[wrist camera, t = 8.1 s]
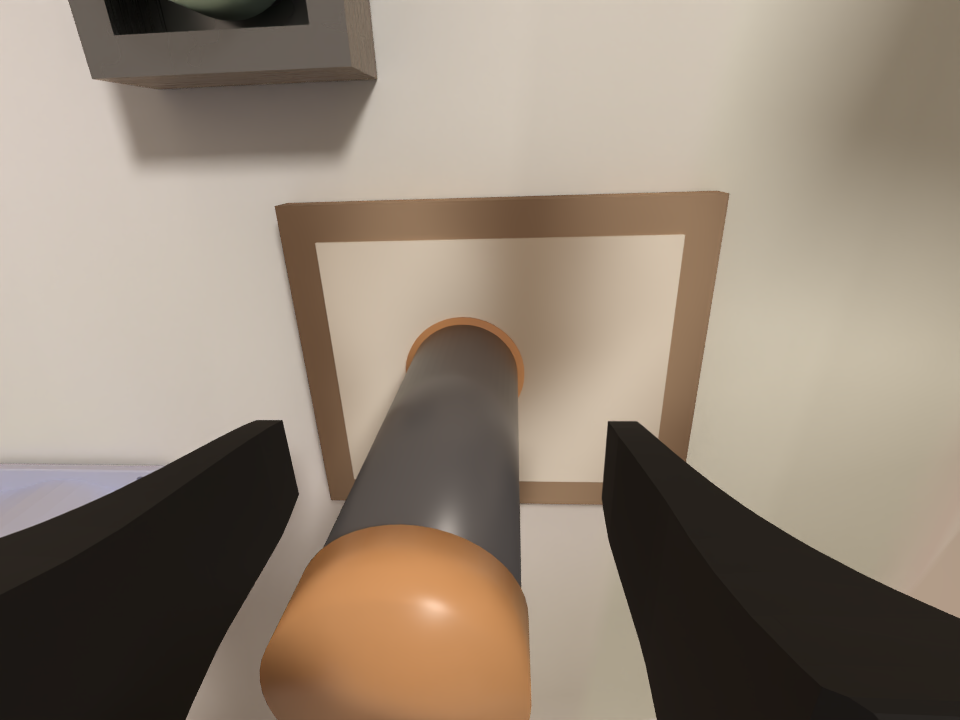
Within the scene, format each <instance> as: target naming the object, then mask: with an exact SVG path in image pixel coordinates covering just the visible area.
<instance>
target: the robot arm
mask: <svg viewBox="0 0 960 720" xmlns="http://www.w3.org/2000/svg"><path fill="white" fill-rule="evenodd" d="M298 495H299V493H298V488H297V484H296V479H295V475H294V470H293V466H292V461H291V457H290V452H289V448H288V443H287V439H286V434H285V430H284V425H283V421H282V420H256V421H253V422H251V423H248V424H246V425H244V426H241V427H239V428H237V429H235V430H233V431H231V432H229V433H227V434H225V435H223V436H221V437H219V438H217V439H215V440H214V441H212V442H210V443H208V444H206V445H204V446H202V447H200V448H198V449H196V450H195V451H193V452H191V453H189V454H187V455H185V456H183V457H181V458H179V459H178V460H176V461H174V462H172V463H170V464H168V465H166V466H159V465H71V464H0V720H186V717H187V715H188V713H189V710H190V708H191V706H192V703H193V701H194V699H195V697H196V694H197V692H198V690H199V688H200V686H201V684H202V681H203V679H204V677H205V675H206V673H207V671H208V668H209V666H210V664H211V662H212V660H213V658H214V655H215V653H216V651H217V649H218V647H219V645H220V643H221V642H222V640H223V638H224V636H225V634H226V632H227V630H228V628H229V627H230V625H231V623H232V622H233V620H234V618H235V616H236V615H237V613H238V611H239V610H240V608H241V606H242V604H243V603H244V601H245V599H246V598H247V596H248V594H249V592H250V591H251V589H252V587H253V586H254V584H255V582H256V580H257V579H258V577H259V575H260V574H261V572H262V570H263V568H264V567H265V565H266V563H267V561H268V560H269V558H270V556H271V554H272V553H273V551H274V549H275V547H276V546H277V544H278V542H279V540H280V538H281V537H282V535H283V533H284V530H285V528H286V526H287V523H288V521H289V519H290V516H291V514H292V511H293V508H294V506H295V503H296V501H297V498H298ZM602 504H603V510H604V516H605V522H606V528H607V533H608V539H609V543H610V546H611V550H612V553H613V556H614V560H615V563H616V566H617V570H618V573H619V576H620V580H621V583H622V586H623V589H624V593H625V596H626V599H627V602H628V606H629V609H630V612H631V615H632V619H633V622H634V625H635V628H636V632H637V635H638V638H639V642H640V645H641V649H642V653H643V657H644V661H645V664H646V669H647V674H648V679H649V683H650V688H651V693H652V698H653V703H654V708H655V713H656V717H657V720H960V618H957V617H955V616H953V615H950V614H948V613H946V612H944V611H941V610H939V609H937V608H935V607H932V606H930V605H928V604H926V603H923V602H921V601H919V600H917V599H914V598H912V597H910V596H908V595H906V594H903V593H901V592H899V591H897V590H894V589H892V588H890V587H888V586H886V585H884V584H882V583H880V582H878V581H876V580H874V579H871V578H869V577H867V576H865V575H863V574H861V573H859V572H857V571H855V570H853V569H852V568H850V567H848V566H846V565H844V564H842V563H840V562H838V561H836V560H834V559H832V558H831V557H829V556H827V555H825V554H823V553H821V552H819V551H817V550H815V549H814V548H812V547H810V546H808V545H806V544H805V543H803V542H801V541H799V540H798V539H796V538H794V537H792V536H791V535H789V534H788V533H786V532H784V531H783V530H781V529H779V528H778V527H776V526H775V525H773V524H771V523H770V522H768V521H766V520H765V519H763V518H762V517H760V516H758V515H757V514H755V513H754V512H752V511H751V510H749V509H748V508H746V507H745V506H743V505H742V504H740V503H739V502H738V501H736V500H735V499H733V498H732V497H731V496H729V495H728V494H727V493H725V492H724V491H722V490H721V489H720V488H718V487H717V486H715V485H714V484H713V483H711V482H710V481H709V480H708V479H706V478H705V477H704V476H702V475H701V474H700V473H699V472H697V471H696V470H695V469H693V468H692V467H691V466H690V465H689V464H687V463H686V462H685V461H684V460H682V459H681V458H680V457H679V456H678V455H676V454H675V453H674V452H673V451H672V450H671V449H669V448H668V447H667V446H666V445H665V444H664V443H662V442H661V441H660V440H659V439H658V438H657V437H655V436H654V435H653V434H652V433H651V432H650V431H648V430H647V429H646V428H645V427H644V426H642V425H641V424H640V423H639V422H637V421H608V426H607V438H606V450H605V462H604V474H603V486H602Z"/></svg>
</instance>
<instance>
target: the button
mask: <svg viewBox="0 0 960 720" xmlns="http://www.w3.org/2000/svg"><path fill="white" fill-rule="evenodd" d="M170 1H172V2H174V3H177V4H179V5H182V6H184V7H186V8H189V9H191V10H193V11H196V12H198V13H200V14H203V15H205V16H208V17H211V18H214V19H219V20H224V21H238V20H245V19H248V18H251V17H254V16H256V15H258V14H260V13H262V12H263V11H264V10H266V9H267V8H268V7H270V6H271V5H272V4H273V3H274V2H275V1H276V0H170Z"/></svg>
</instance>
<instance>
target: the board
mask: <svg viewBox="0 0 960 720" xmlns="http://www.w3.org/2000/svg"><path fill="white" fill-rule="evenodd" d="M728 199H729V193H725V192H720V191H697V192H662V193H627V194H592V195H557V196H522V197H486V198H451V199H416V200H381V201H346V202H311V203H286V204H282V205H278V206H275V211H276V216H277V221H278V226H279V231H280V237H281V242H282V247H283V252H284V257H285V263H286V268H287V273H288V278H289V283H290V288H291V294H292V299H293V304H294V309H295V314H296V320H297V325H298V330H299V335H300V340H301V346H302V351H303V356H304V361H305V366H306V371H307V377H308V382H309V387H310V392H311V397H312V403H313V408H314V413H315V418H316V423H317V429H318V434H319V439H320V444H321V449H322V454H323V460H324V465H325V470H326V475H327V480H328V486H329V491H330V496H331V500H346V499H347V497H348V495H349V493H350V491H351V488H352V486H353V484H354V482H355V480H356V478H357V476H358V474H359V472H360V469H361V467H362V465H363V463H364V461H365V459H366V457H367V455H368V453H369V451H370V448H371V446H372V444H373V442H374V440H375V438H376V436H377V434H378V432H379V429H380V427H381V425H382V423H383V421H384V419H385V417H386V415H387V413H388V411H389V408H390V406H391V404H392V402H393V400H394V398H395V396H396V394H397V392H398V389H399V387H400V385H401V383H402V381H403V379H404V377H405V375H406V373H407V371H408V368H409V366H410V364H411V362H412V360H413V358H414V356H415V354H416V352H417V350H418V348H419V346H420V345H421V344H422V342H423V341H424V340H425V339H426V338H427V337H428V336H430V335H431V334H433V333H434V332H436V331H438V330H440V329H442V328H445V327H448V326H453V325H472V326H477V327H481V328H484V329H486V330H488V331H490V332H492V333H493V334H495V335H497V336H498V337H499V338H500V339H501V340H502V341H503V342H504V343H505V344H506V345H507V346H508V348H509V349H510V350H511V352H512V354H513V356H514V359H515V361H516V365H517V374H518V430H519V490H520V503H540V504H601V505H603V504H602V486H603V474H604V462H605V450H606V438H607V426H608V421H637V422H639V423H640V424H641V425H642V426H644V427H645V428H646V429H647V430H648V431H650V432H651V433H652V434H653V435H654V436H655V437H657V438H658V439H659V440H660V441H661V442H662V443H664V444H665V445H666V446H667V447H668V448H669V449H671V450H672V451H673V452H674V453H675V454H676V455H678V456H679V457H680V458H681V459H682V460H684V461H685V462H686V458H687V451H688V445H689V439H690V433H691V427H692V421H693V415H694V408H695V402H696V396H697V390H698V384H699V378H700V371H701V365H702V359H703V353H704V347H705V341H706V334H707V328H708V322H709V316H710V310H711V304H712V298H713V291H714V285H715V279H716V273H717V267H718V261H719V254H720V248H721V242H722V236H723V230H724V224H725V218H726V211H727V205H728Z"/></svg>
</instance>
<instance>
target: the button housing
mask: <svg viewBox="0 0 960 720" xmlns="http://www.w3.org/2000/svg"><path fill="white" fill-rule="evenodd" d="M68 1H69V4H70V8H71V11H72V14H73V17H74V21H75V24H76V27H77V31H78V34H79V37H80V40H81V44H82V47H83V50H84V53H85V57H86V60H87V63H88V67H89V70H90V73H91V76H92V79H96V80H102V81H108V82H115V83H121V84H127V85H134V86H140V87H146V88H152V89H173V88H194V87H216V86H237V85H259V84H280V83H302V82H323V81H344V80H366V79H377V71H376V61H375V51H374V41H373V32H372V22H371V12H370V2H369V0H276V1H275V2H274V3H273V4H272V5H271V6H270V7H268V8H267V9H266V10H264V11H263V12H262V13H260V14H258V15H256V16H254V17H251V18H248V19H245V20H238V21H224V20H219V19H214V18H211V17H208V16H205V15H203V14H200V13H198V12H196V11H193V10H191V9H189V8H186V7H184V6H182V5H179V4H177V3H174V2H172V1H170V0H68Z"/></svg>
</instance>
